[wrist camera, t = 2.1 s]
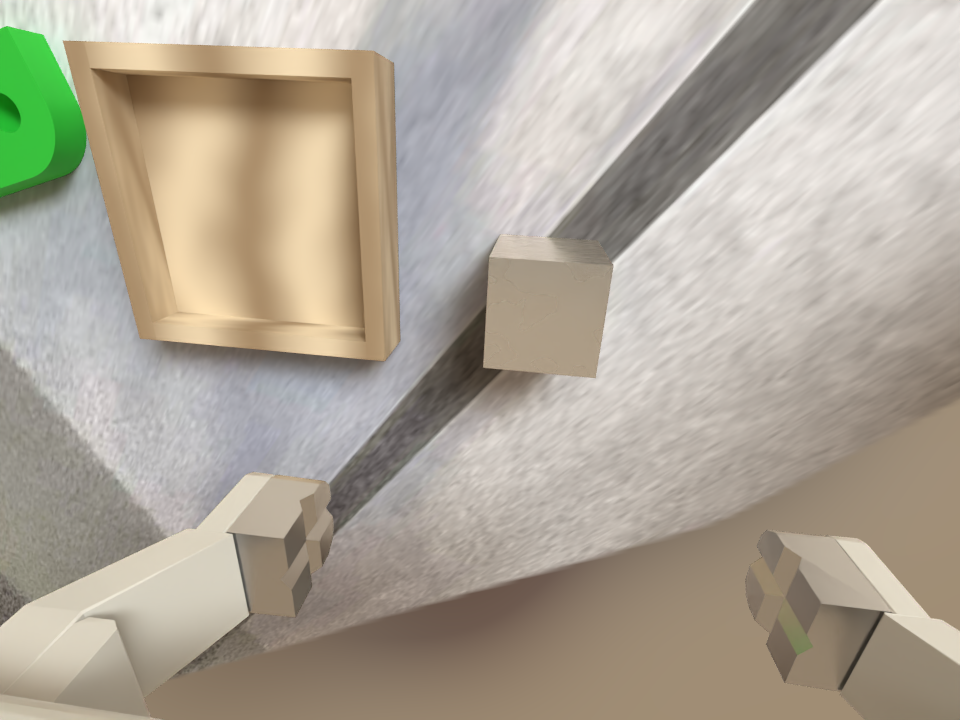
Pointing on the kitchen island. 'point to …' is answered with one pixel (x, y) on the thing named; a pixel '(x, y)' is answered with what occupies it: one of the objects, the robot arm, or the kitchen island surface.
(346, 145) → the tray
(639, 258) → the kitchen island surface
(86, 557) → the kitchen island surface
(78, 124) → the mechanical part
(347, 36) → the kitchen island surface
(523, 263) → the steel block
